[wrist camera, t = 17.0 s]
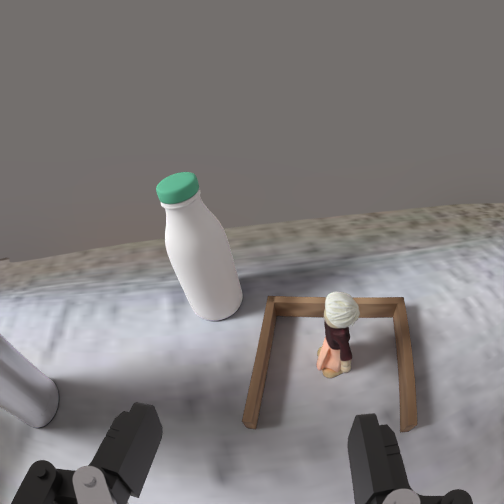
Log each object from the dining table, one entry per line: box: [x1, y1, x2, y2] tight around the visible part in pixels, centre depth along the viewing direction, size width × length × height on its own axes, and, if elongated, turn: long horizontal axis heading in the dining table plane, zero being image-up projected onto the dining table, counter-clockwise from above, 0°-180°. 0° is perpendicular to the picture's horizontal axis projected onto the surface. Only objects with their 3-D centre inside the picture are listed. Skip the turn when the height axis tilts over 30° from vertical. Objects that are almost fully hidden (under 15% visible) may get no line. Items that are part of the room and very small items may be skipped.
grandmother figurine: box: [317, 292, 360, 378], centre depth 29 cm, size 8×4×13 cm, turn 16°
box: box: [242, 296, 417, 432], centre depth 31 cm, size 18×17×3 cm
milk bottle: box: [156, 172, 243, 321], centre depth 37 cm, size 8×8×20 cm
